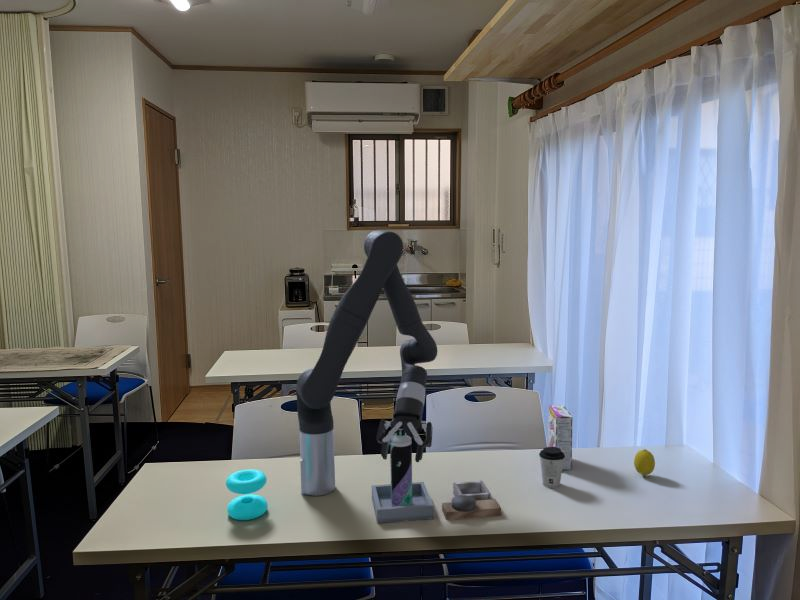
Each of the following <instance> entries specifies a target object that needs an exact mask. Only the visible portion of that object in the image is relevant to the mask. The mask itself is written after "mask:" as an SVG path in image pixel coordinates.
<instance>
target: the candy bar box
mask: <svg viewBox="0 0 800 600" xmlns="http://www.w3.org/2000/svg"><path fill="white" fill-rule="evenodd" d="M573 418H574V417H573V416H572V414H571V413H570V412H569V410H568V409H567V408H566V406H565V405H563V404H561V405H560V404H559V405H557V404H551V405H549V404H548V421H547V422H548V425H547V426H548V430H547V431H548V435H547V437H548V444H547V445H548V446H547V447H557V448H560V449H561V451H562V452H563V453H564V455H565V458H564V461H563V467H562V471H571V470H572V467H573V466H572V463H573V462H572V461H573V457H572V456H573Z"/></svg>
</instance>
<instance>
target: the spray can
mask: <svg viewBox="0 0 800 600" xmlns="http://www.w3.org/2000/svg"><path fill="white" fill-rule="evenodd" d="M412 444H413V442H412V439H411V437H410V436H407V435H406V433H405V432H404V429H397V433H396V434H395V435H394V436H392V437H391V441H390V444H389V450H390V452H389V454H390V458H389V459H390V463H389V464H390V484H391V505H392V506H393V507H396V506H409V505H412V483H413V451H412V450H413V447H412Z"/></svg>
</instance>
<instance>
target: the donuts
mask: <svg viewBox="0 0 800 600" xmlns="http://www.w3.org/2000/svg"><path fill="white" fill-rule="evenodd" d="M266 483H267V476H266V474H265V473H264V471H263V472H262V471H261V470H258V469H253V468H250V469H241V470H238V471H235V472H232V473H230V475H228V477H227V478H226V481H225V486H226V489H227V490H229V491H230V492H232V493H234V494H237V495H239V496H236V497H235V498H233V499H232V500H231V501H230V502H229V503H228V505H227V514H228V515H229V517H231V518H232V519H234V520H237V521H250V520H253V519H257V518H260V517H261V516H263V515H264V514H265V513H266V512H267V510H268V507H269V506H268V505H269V504H268V501H267V500H266V498H264V497H263V496H262V495H258V494H253V493H256V492H258V491H260V490H261V489H262V488H263V487H265V485H266Z"/></svg>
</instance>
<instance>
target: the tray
mask: <svg viewBox="0 0 800 600" xmlns="http://www.w3.org/2000/svg"><path fill="white" fill-rule="evenodd" d="M371 501H372V505H373V509H374V514H375V519H376V523H377V524H386V523H397V522H398V523H400V522H409V521H410V522H412V521H424V520H434V519H435V517H434V507H435V506H434V503H433V500H432V498H431V496H430V494H429V492H428V489H427V487H426V484H425V482H424V481H415V482H413V481H412V505H409V506H396V507H393V506H392V505H391V483H390V484H389V483H388V484H387V483H386V484H378V485H377V484H375V485H374V484H373V485H371Z"/></svg>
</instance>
